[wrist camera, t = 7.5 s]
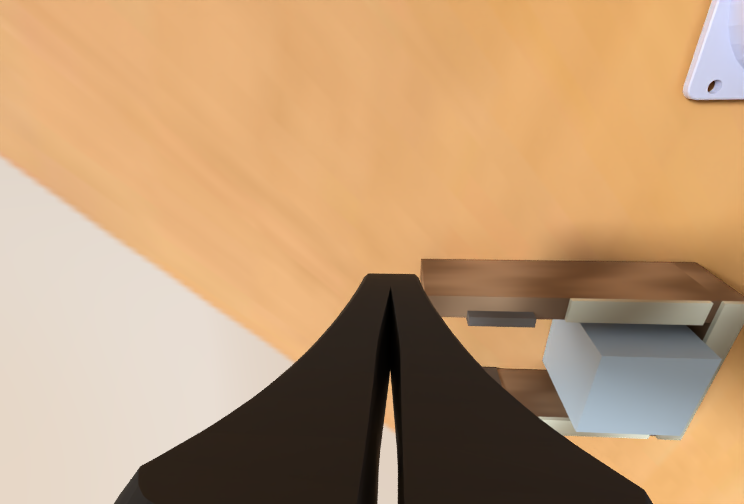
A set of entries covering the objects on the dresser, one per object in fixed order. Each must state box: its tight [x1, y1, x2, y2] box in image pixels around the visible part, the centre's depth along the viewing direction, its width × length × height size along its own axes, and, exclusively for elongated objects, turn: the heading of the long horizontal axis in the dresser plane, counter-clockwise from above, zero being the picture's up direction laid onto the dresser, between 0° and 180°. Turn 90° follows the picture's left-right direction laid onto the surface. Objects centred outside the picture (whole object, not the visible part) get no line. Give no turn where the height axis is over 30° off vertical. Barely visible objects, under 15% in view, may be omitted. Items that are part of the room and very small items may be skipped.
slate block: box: [542, 319, 722, 436], centre depth 20 cm, size 5×5×5 cm
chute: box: [420, 259, 744, 440], centre depth 21 cm, size 14×9×4 cm, turn 91°
